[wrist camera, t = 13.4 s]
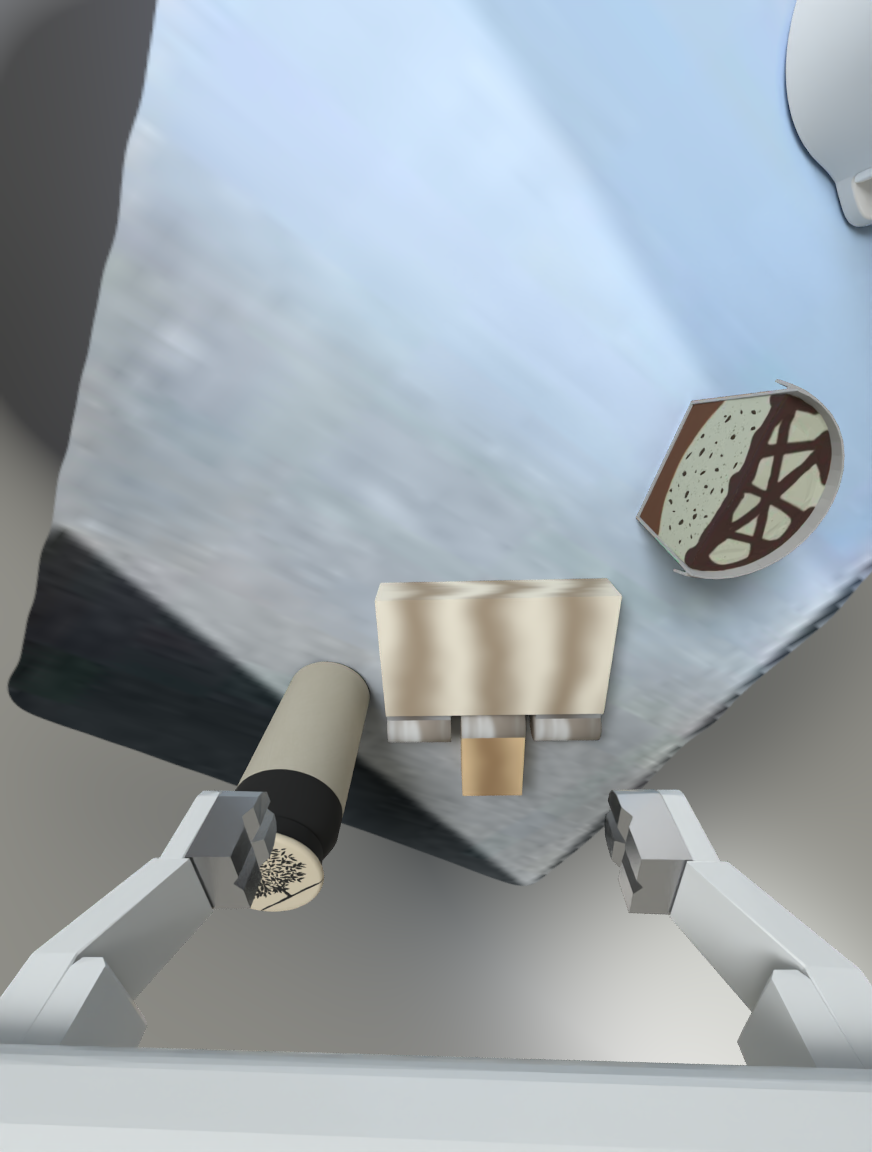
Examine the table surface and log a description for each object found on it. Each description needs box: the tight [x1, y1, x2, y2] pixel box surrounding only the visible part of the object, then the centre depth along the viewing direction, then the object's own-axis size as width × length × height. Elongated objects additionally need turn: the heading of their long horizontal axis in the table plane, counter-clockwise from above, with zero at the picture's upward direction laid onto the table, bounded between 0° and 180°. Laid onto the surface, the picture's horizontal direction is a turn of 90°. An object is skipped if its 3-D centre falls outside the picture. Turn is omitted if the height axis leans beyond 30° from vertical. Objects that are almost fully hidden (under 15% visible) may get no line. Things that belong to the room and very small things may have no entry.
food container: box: [636, 379, 844, 579], centre depth 30 cm, size 12×6×10 cm, turn 164°
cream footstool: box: [375, 578, 622, 742], centre depth 41 cm, size 20×16×4 cm
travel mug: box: [235, 662, 370, 911], centre depth 36 cm, size 8×8×18 cm
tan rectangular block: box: [461, 715, 526, 796], centre depth 44 cm, size 6×10×4 cm, turn 2°
